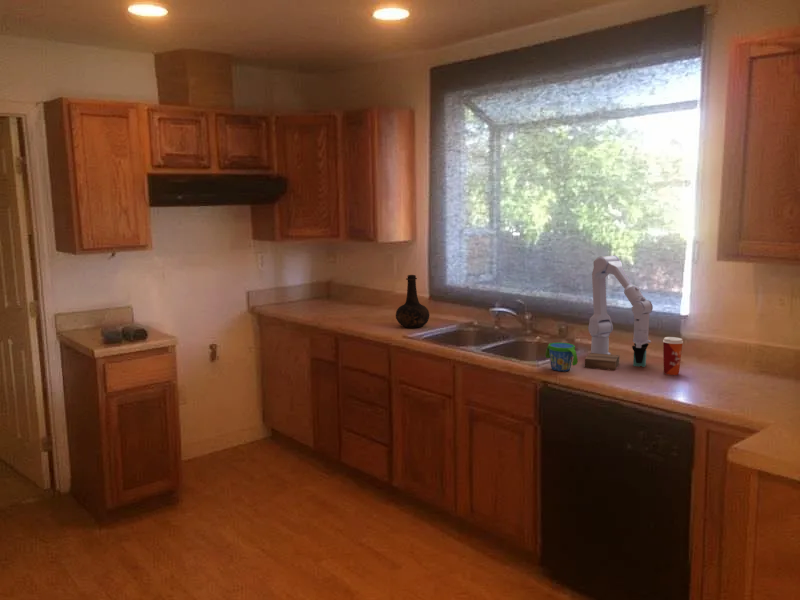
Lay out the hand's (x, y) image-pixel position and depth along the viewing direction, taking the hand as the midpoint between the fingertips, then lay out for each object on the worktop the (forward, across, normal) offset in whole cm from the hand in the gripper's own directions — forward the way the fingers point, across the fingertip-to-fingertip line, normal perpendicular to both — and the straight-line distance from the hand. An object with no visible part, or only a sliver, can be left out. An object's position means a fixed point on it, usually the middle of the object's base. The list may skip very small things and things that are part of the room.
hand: (639, 361), depth 293 cm
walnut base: (+2, -7, +14) cm, 16 cm away
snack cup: (+2, -21, +28) cm, 35 cm away
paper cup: (+2, -9, -13) cm, 16 cm away
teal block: (+1, 0, 0) cm, 1 cm away
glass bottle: (+2, +41, +121) cm, 128 cm away
